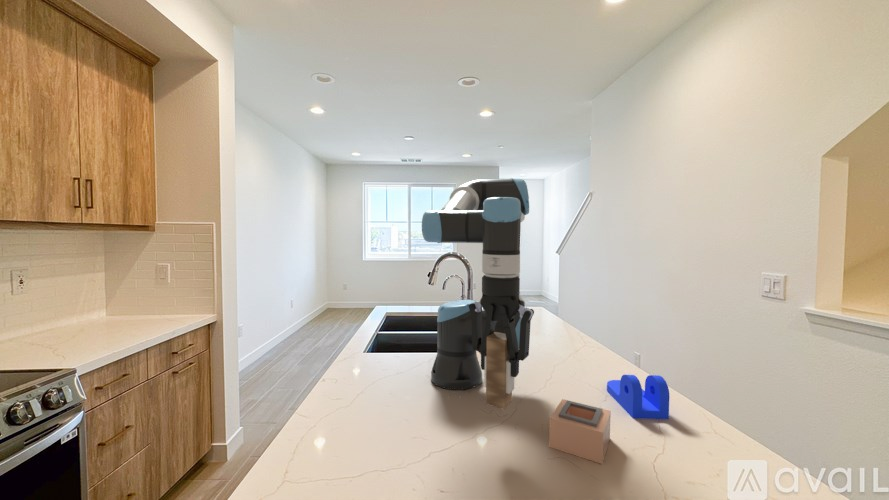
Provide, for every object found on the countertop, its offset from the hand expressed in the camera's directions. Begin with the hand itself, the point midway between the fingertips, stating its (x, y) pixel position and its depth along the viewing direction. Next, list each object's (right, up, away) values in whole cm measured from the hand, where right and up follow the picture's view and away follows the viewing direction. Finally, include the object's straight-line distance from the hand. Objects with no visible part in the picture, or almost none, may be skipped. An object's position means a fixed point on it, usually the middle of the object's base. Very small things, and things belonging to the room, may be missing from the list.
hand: (499, 387), depth 73 cm
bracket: (+38, -12, +20) cm, 44 cm away
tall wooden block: (0, -3, 0) cm, 3 cm away
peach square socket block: (+17, -12, +1) cm, 21 cm away
